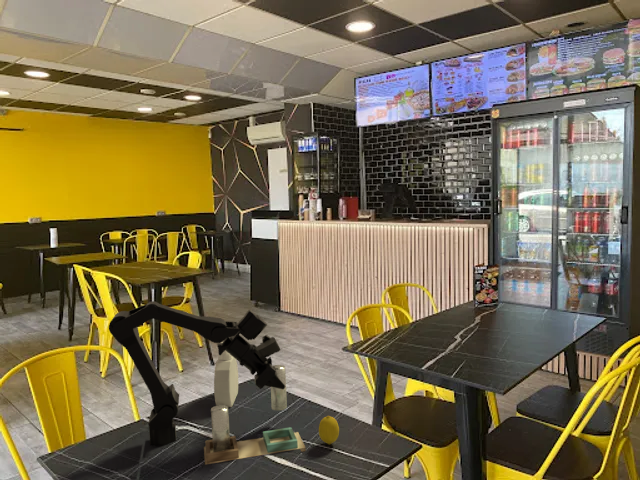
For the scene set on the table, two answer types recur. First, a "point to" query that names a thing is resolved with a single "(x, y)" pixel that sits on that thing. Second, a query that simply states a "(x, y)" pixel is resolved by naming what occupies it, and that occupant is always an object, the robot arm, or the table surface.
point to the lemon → (328, 430)
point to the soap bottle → (226, 380)
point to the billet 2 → (279, 390)
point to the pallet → (256, 446)
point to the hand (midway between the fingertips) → (283, 384)
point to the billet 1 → (220, 428)
